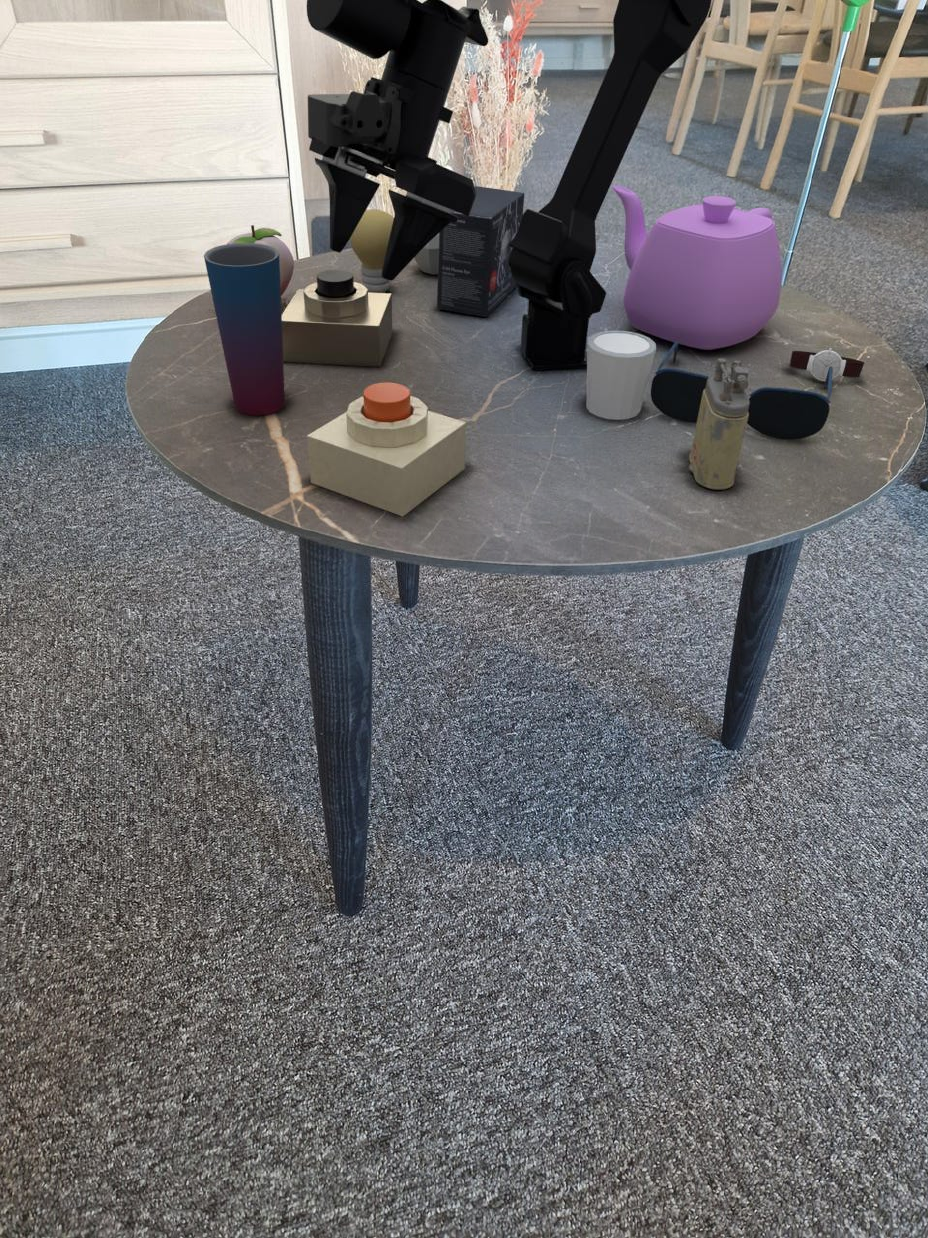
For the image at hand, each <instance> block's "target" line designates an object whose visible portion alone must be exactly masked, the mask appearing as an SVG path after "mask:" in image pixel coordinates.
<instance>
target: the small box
mask: <svg viewBox="0 0 928 1238" xmlns="http://www.w3.org/2000/svg"><path fill="white" fill-rule="evenodd" d="M474 187H475V190H476V194H477V195H476V198H475V200H474V203H473V206H472V209H471V212H470V215H469V216H467V215H464V214H462V213H459V212H457V211H454V210H453V213H452V215H454V216H456V217H459V218H458V220H457V222H456V223H454V222H450V223H449V224H448V225H447V226H446V227H445V228H444V229H443V230H442V231H441V232H440V233H439V265H438V274H437V288H436V289H437V291H436V292H437V293H436V309H438V310H443V311H448V312H452V313H453V312H454V313H459V314H465V315H471V316H477V317H483V318H486V317H488V316H489V315H490V314H491V313H492V311H494V310H495V309H496V308H497V307H498V306H499V305H500V304H501V302H502V301H504V300H505V299H506V298H507V297H508V296H509V295H510V294H511V292H513V291H514V290H515V289H516V288H517V284H516V282H515V281H514V279H513V277H512V275H511V270H510V267H509V265H508V263H509V257H510V254H511V250H512V247H510V246H509V243H510V242H511V241H512V240H513V238H514V237H515V235H516V233H517V231H518V228H519V225H520V222H521V218H522V215H523V214H524V204H525V192H522V191H521V192H520V191H515V190H514V191H513V190H507V189H500V188H494V187H484V186H480V185H479V186H478V185H476V186H474Z"/></svg>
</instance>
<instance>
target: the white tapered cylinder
mask: <svg viewBox="0 0 928 1238" xmlns="http://www.w3.org/2000/svg"><path fill="white" fill-rule="evenodd" d="M656 351H657V344H656V342H655V341H654V340H653V339H651V337H649V336H646V335H644V334H641V333H638V332H632V331H629V330H604V331H600V332H599V331H598V332H596V333H593V334H591V335H590V336H589V337H587V353H586V354H587V355H586V358H587V367H586V399H585V400H586V401H585V402H586V404H585V405H586V406H585V408H586V409H587V410H588V412H589V413H590V414H592V415H594V416H596V417H599V418H603V419H606V420H612V421H613V420H614V421H615V420H617V421H622V420H629V419H632V418H635V417H637V416H638V415H639V414H640V413H641V410H642V407H643V406H642V405H643V402H644V398H645V394H646V390H647V386H648V382H649V378H650V375H651V371H652V367H653V364H654V363H653V362H654V359H655V355H656Z"/></svg>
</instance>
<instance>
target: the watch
mask: <svg viewBox="0 0 928 1238" xmlns="http://www.w3.org/2000/svg"><path fill="white" fill-rule="evenodd" d="M791 352H792V353H791V356H790V362H789V367H791V368H795V369H799V370H803V371H806V372H810V375H812V376H813V377H814V378H815V379H817V380H818V381H821V382H825V381H826V377H827V373H828V370H829V367H830V366H832V367H833V375H832V380H834V379H835V378H837V377H850V378H860V376H861V374H862V371H863V368H864V365H865V361H862V360H858V359H854V358H851V357H844V356H840V354H838V353H837V352H836V351H833V348H832V347H829V348H828V349H827V350H821V351H819V352H813V351H803V350H792V351H791Z"/></svg>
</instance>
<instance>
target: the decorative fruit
mask: <svg viewBox="0 0 928 1238" xmlns="http://www.w3.org/2000/svg"><path fill="white" fill-rule="evenodd" d="M250 229H251V232H246V233H242V234H239V235H236V236H234V237H233V238H231V239H230V240H229V241H228V242H226V244H233V243H258V244H264V245H268V246H271V247H273V248H275V249H277V250H278V252H279V259H280V286H281V296H283V295H284V293H285V292H286V290H287V289H288V287H289V284H290V282H291V280H292V277H293V274H294V268H295V261H294V257H293V253H292V252H291V250H290V248H289V247H288V245H287V244H286V243H285V242H284V241H283V240H282V239H280V238H278V237H283V236H282V234H281V232H280V231H277V230H276V229H274V228H269V227H261V228H257V229H255V224H252V225H250ZM277 236H278V237H277Z"/></svg>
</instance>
